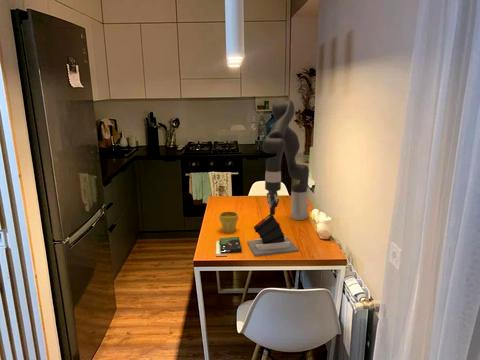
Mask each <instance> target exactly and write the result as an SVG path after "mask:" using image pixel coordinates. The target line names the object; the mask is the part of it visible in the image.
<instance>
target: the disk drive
mask: <svg viewBox="0 0 480 360" xmlns="http://www.w3.org/2000/svg"><path fill="white" fill-rule="evenodd" d="M219 246H221V247H219V248H220V254H221V255H222V254H238V253H243V248H242V245H241V240H240V236H230V237H220V238H219ZM223 246H225V247H223ZM224 250H226V251H225V252H221V251H224Z"/></svg>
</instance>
